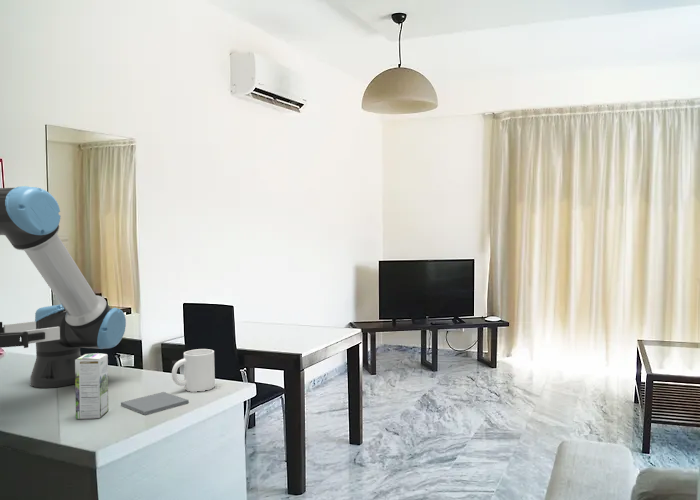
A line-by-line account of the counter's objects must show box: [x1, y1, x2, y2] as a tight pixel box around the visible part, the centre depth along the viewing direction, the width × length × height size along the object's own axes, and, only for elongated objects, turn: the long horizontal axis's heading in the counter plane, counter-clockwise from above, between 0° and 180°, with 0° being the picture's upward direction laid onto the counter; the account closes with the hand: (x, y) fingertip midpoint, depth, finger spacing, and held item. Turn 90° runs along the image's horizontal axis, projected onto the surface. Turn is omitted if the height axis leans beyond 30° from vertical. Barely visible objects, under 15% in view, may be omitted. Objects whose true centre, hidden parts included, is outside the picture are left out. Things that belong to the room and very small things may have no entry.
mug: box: [171, 348, 216, 393], centre depth 156 cm, size 12×8×10 cm
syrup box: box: [74, 352, 109, 420], centre depth 135 cm, size 6×6×14 cm
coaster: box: [120, 391, 190, 416], centre depth 143 cm, size 12×12×1 cm
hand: (47, 329), depth 127 cm, fingers open, 13 cm apart
